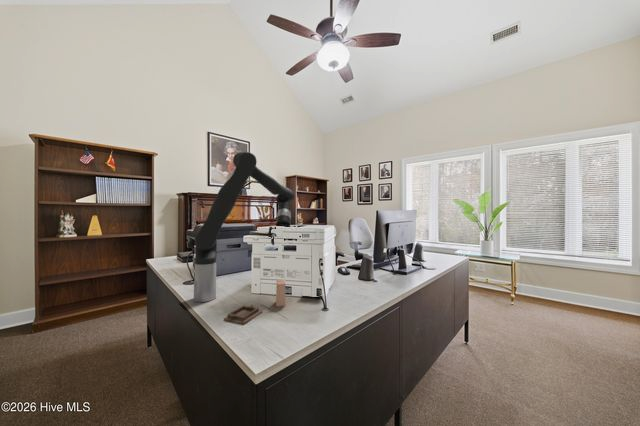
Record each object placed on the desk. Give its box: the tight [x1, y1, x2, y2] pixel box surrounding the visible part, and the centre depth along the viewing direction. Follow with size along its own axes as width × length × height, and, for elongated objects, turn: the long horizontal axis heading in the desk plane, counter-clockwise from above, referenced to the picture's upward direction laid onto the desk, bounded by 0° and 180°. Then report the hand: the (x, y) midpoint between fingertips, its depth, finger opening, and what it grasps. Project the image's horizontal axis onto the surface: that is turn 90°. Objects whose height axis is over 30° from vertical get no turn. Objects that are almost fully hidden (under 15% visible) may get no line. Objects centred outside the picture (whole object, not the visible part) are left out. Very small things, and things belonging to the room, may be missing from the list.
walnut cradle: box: [223, 303, 263, 326], centre depth 96 cm, size 10×12×3 cm
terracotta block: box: [275, 279, 287, 307], centre depth 110 cm, size 4×6×10 cm, turn 10°
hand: (281, 244), depth 119 cm, fingers open, 8 cm apart
